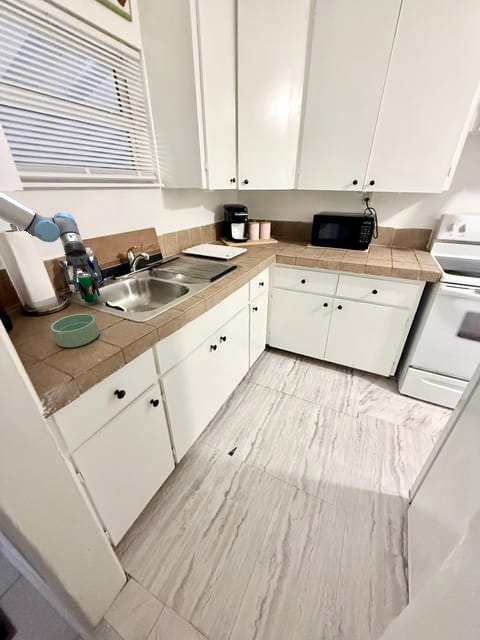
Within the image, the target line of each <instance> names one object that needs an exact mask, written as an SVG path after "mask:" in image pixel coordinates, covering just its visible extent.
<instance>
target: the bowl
mask: <svg viewBox="0 0 480 640" xmlns="http://www.w3.org/2000/svg"><path fill="white" fill-rule="evenodd" d="M50 331H51V333H52V336H53V338H54V341H55V343H56V344H57V346H58V347H62V348H76V347H81V346H84V345H87V344H89V343H91V342H92V341H94V340H96V338H98V336H99V335H100V330H99V326H98V323H97V320H96V317H95V315H93V314H90V313H76V314H71V315H68V316H67V315H66V316H64V317H61V318H59V319H58V320H56V321H54V322H53V323H52V324H51V325H50Z"/></svg>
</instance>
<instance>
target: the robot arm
mask: <svg viewBox="0 0 480 640" xmlns="http://www.w3.org/2000/svg"><path fill="white" fill-rule="evenodd" d="M0 220H2V221H4V222H6V223H9V224H11V225H12V226H14V227H16V228H18V229H19V230H20V229H22V230H24V231H26V232H28V233H29V234H31V235H32V236H33V237H35V238H37V239H38V240H39V241H42V242H45V243H54V242H56V241H57V240H59V239H60V242H61V245H62V248H63V251H64V254H65V257H66V258H65V259H64V260H59V265H60V267H61V269H63V272H64V276H65V279H66V282H67V285H69V286H70V285H72V286H73V287H74V290H75V292H76V293H79V294H80V297H81V300H82V301H84V296H83V293H82V290H81V287H80V284H79V281H78V278H77V277H78V269H80V268H84V269H85V270H86V272H90V274H91V275H92V278H93V282H94V286H95V289H96V293H97V297H101V292H100V288H101V283H100V280H103V274H102V272H101V270H100V269H101V268H100V267H99V264H98V258H97V256H95V255H94V256H90V255H89V254H88V252H87V249H86V248H85V245H84V242H83V239H82V236H81V234H80V231H79V227H78V224H77V222H76V220H75V217H74V216H73V215H72V214H71V213H69V212H66V211H61V212H57V213H55V214H54V215H53V217H48V216H42V215H40V214H39V213H37V212H35V211H34V210H32V209H30V208H28V207H27V206H25V205H23V204H21V203H19V201H16V200H15V199H13V198H11V197H9V196H8V195H6V194H5V193H3V192H1V191H0ZM89 262H91V263H92V264H93V267H94V269H95V272H96V273H95V272H94V270H93V269H92V267H91V266H90V264H89ZM68 265H70V266H71V267H72V279H71V277H70V274H69V270H68V268H67V266H68Z"/></svg>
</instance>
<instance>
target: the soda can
mask: <svg viewBox="0 0 480 640" xmlns="http://www.w3.org/2000/svg"><path fill="white" fill-rule="evenodd" d="M77 282H79V284H80V287H81V290H82V293H83V296H84V299H83V301H84V303H86V304H93V303H96V302H97V301H98V300H99V296H98V295H97V292H96V289H95V286H94V282H93V278H92V275H91V274H90V272H88V271H82V272H79V273H78V272H77Z"/></svg>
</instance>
